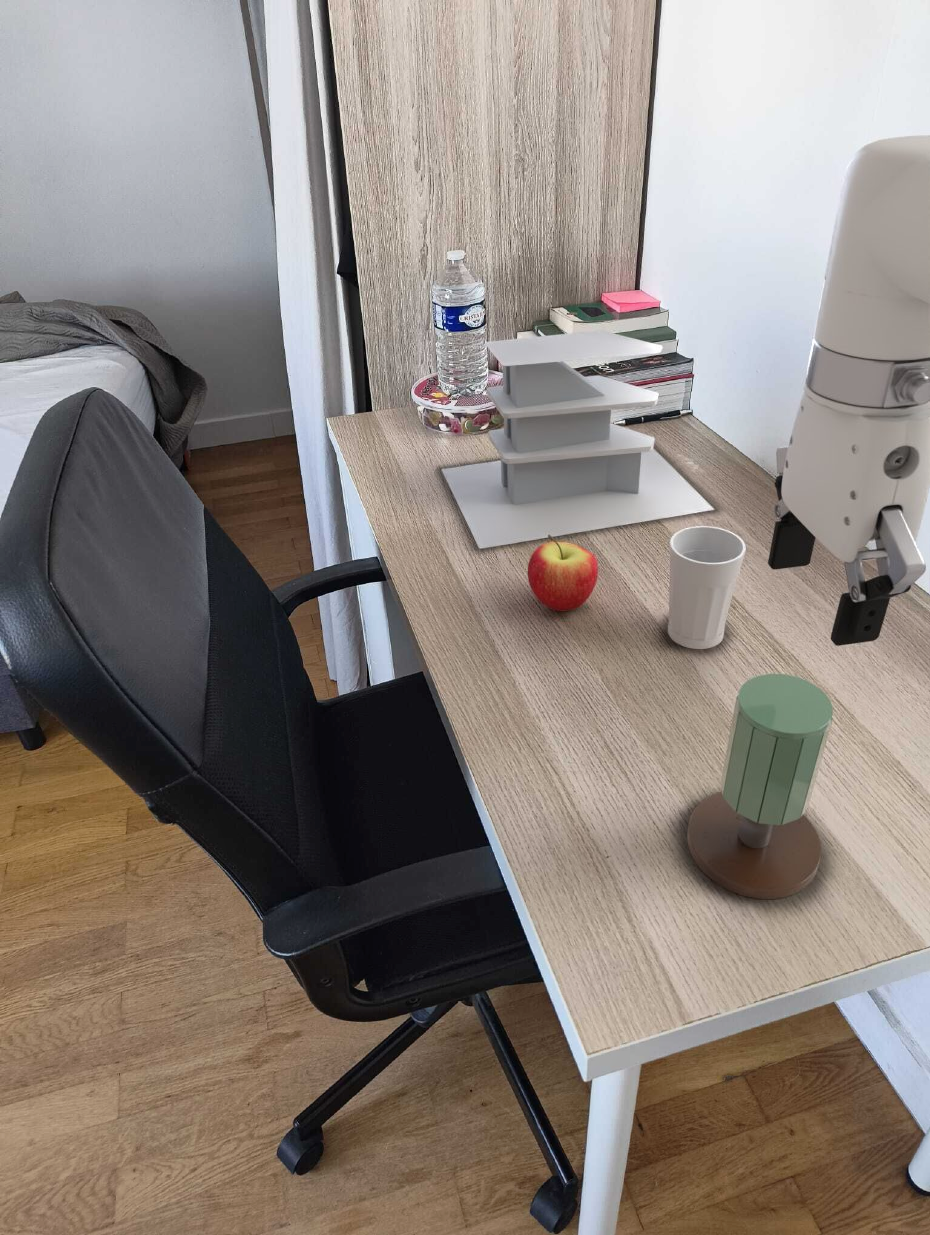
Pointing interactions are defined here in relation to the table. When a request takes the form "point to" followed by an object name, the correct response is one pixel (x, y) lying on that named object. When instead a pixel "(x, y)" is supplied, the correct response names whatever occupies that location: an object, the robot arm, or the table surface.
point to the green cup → (775, 747)
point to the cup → (702, 584)
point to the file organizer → (566, 448)
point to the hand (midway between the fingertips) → (818, 600)
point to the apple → (562, 575)
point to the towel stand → (752, 851)
